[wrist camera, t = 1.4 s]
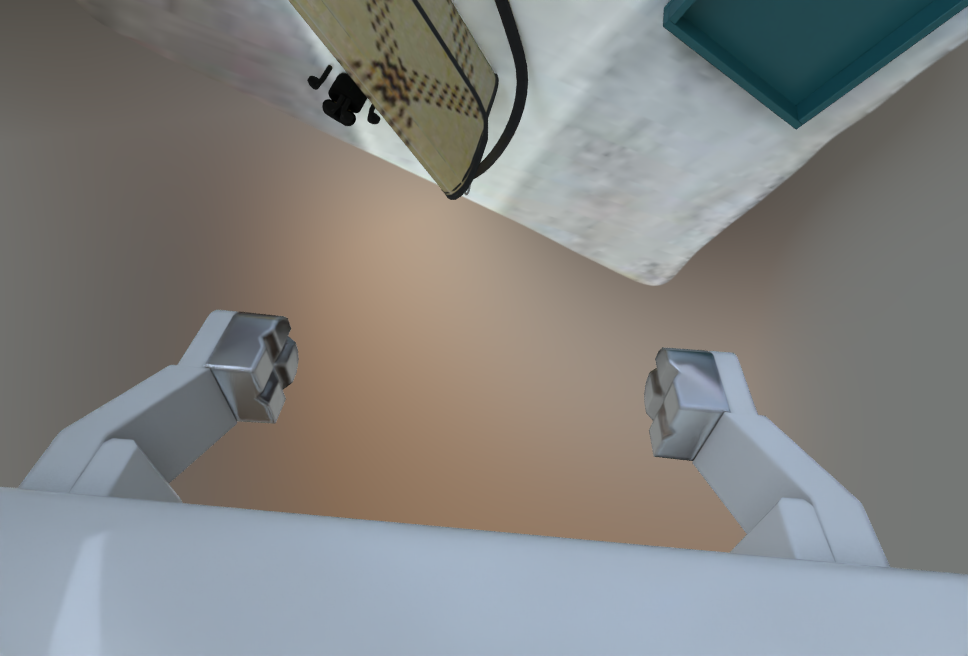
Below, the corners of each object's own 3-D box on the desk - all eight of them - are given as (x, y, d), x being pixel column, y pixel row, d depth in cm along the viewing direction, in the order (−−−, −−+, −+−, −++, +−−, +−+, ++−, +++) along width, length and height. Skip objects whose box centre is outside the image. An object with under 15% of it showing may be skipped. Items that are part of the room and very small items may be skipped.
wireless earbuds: (391, 97, 51) (374, 130, 48) (382, 115, 53) (365, 148, 50) (322, 54, 49) (301, 86, 46) (315, 74, 50) (295, 106, 48)
